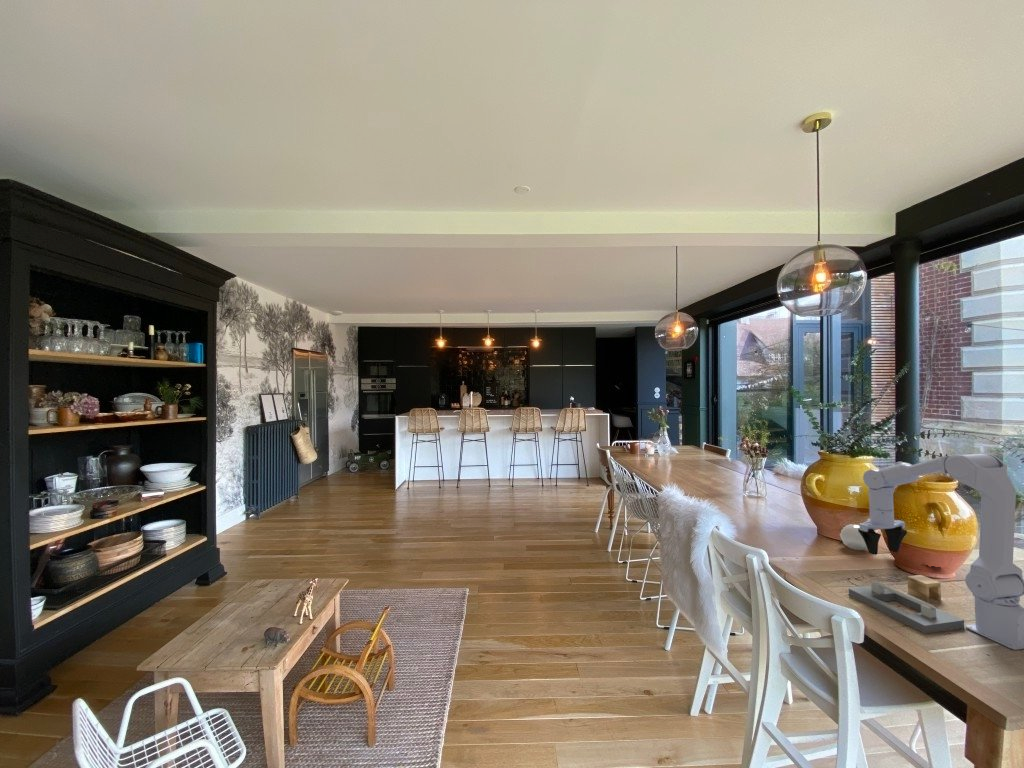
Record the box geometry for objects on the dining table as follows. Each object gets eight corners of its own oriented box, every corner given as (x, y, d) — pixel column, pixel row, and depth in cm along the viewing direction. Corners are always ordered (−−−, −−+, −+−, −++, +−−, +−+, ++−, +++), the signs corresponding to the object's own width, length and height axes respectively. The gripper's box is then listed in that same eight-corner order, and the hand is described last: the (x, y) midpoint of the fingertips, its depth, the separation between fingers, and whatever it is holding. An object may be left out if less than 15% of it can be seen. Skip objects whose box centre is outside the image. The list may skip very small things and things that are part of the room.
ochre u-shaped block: (941, 599, 121) (940, 582, 121) (927, 601, 120) (926, 584, 120) (921, 591, 126) (920, 574, 126) (908, 593, 125) (907, 576, 125)
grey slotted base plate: (964, 628, 107) (963, 607, 107) (924, 633, 105) (924, 613, 105) (883, 591, 126) (882, 574, 127) (848, 595, 125) (848, 577, 125)
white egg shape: (857, 558, 154) (845, 548, 167) (884, 545, 151) (869, 536, 165) (837, 535, 157) (827, 527, 170) (863, 521, 154) (850, 515, 168)
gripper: (887, 503, 136) (889, 545, 136) (849, 506, 133) (850, 549, 133) (911, 509, 129) (913, 554, 129) (871, 512, 127) (873, 558, 126)
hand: (883, 552), depth 130 cm, fingers open, 7 cm apart
